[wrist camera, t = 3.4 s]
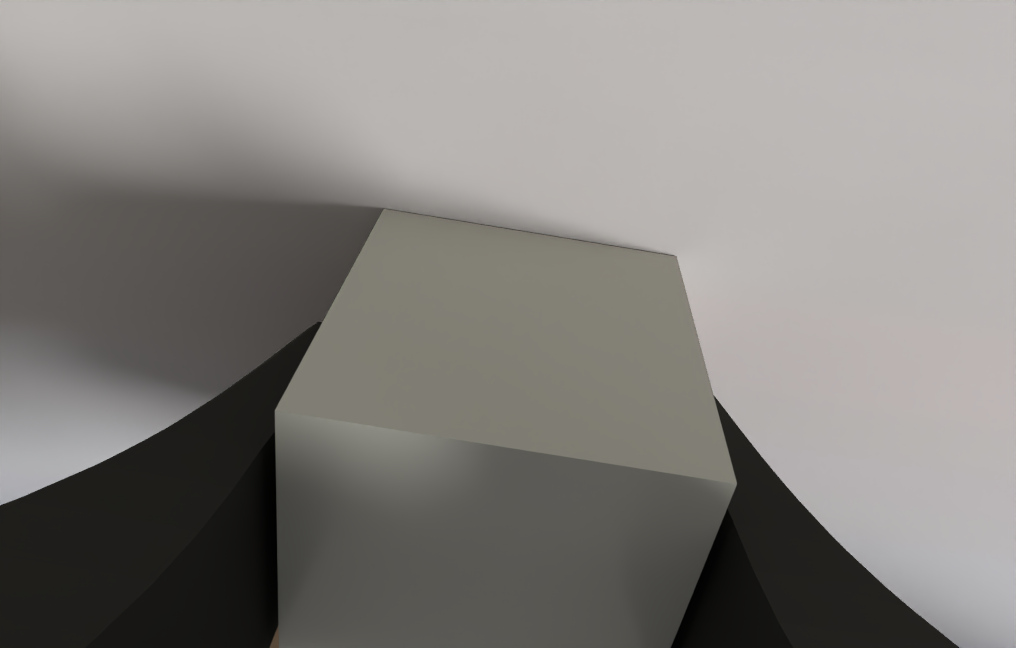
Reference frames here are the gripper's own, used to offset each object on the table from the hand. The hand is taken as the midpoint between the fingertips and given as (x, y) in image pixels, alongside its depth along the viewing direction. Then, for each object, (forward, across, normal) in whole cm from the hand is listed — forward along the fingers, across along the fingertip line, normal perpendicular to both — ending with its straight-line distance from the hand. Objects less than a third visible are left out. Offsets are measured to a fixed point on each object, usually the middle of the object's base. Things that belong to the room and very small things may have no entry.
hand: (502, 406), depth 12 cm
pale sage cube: (+1, 0, 0) cm, 1 cm away
